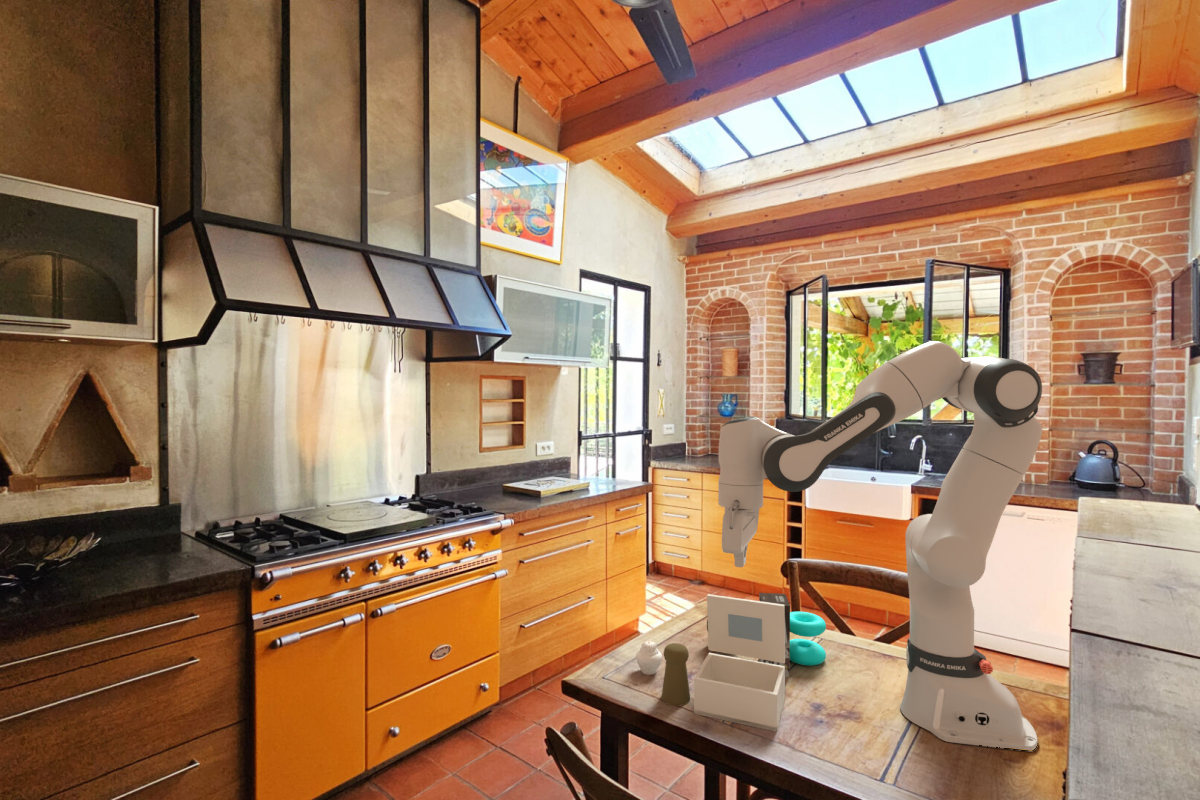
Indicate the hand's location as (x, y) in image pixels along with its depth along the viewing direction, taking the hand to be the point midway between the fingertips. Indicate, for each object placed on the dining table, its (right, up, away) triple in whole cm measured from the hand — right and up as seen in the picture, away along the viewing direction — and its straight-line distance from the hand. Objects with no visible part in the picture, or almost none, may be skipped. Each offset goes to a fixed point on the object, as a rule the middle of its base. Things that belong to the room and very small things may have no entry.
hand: (740, 565), depth 120 cm
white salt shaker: (-17, -29, +16) cm, 38 cm away
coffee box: (+12, -29, +19) cm, 37 cm away
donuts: (+21, -29, +24) cm, 43 cm away
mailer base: (0, -29, +1) cm, 29 cm away
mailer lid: (+2, -15, +6) cm, 16 cm away
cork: (-12, -29, +4) cm, 32 cm away
